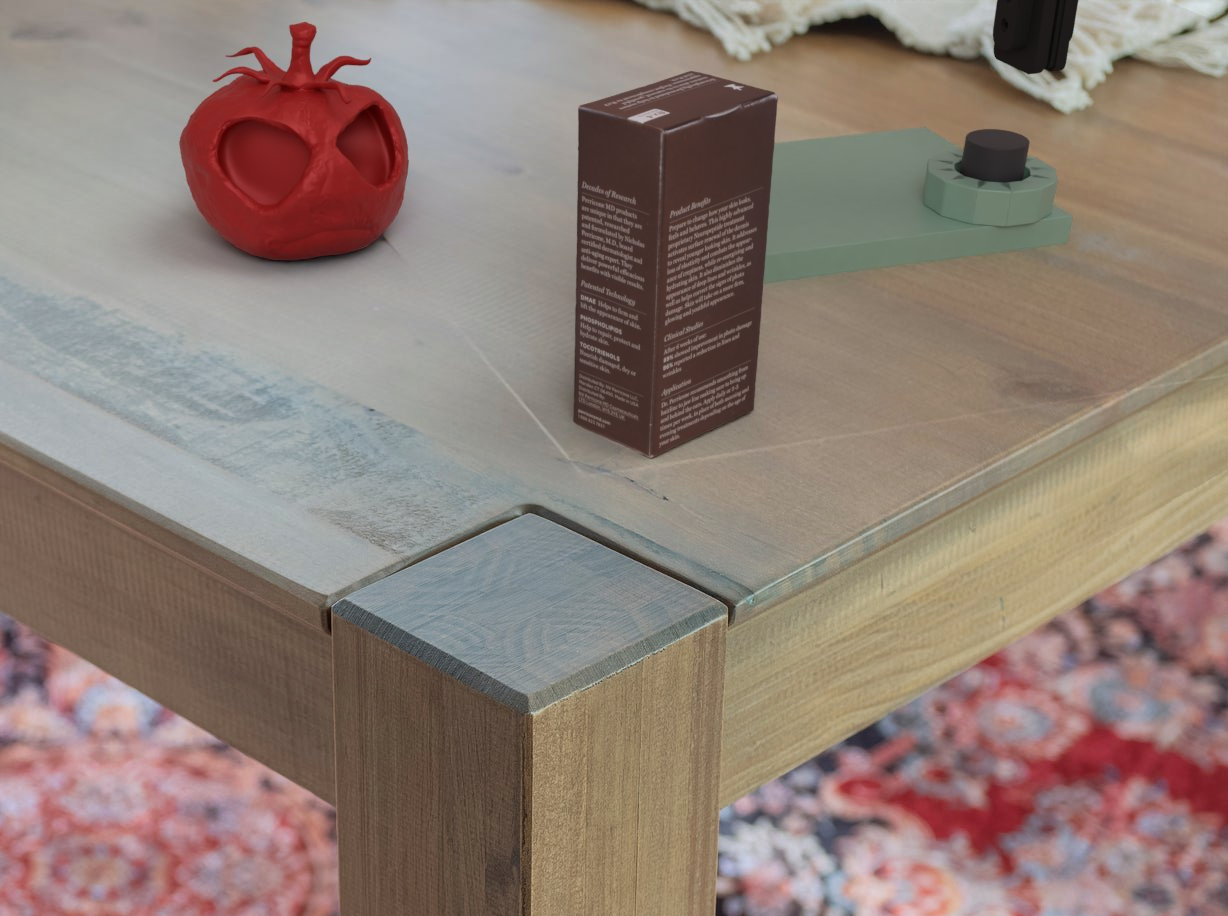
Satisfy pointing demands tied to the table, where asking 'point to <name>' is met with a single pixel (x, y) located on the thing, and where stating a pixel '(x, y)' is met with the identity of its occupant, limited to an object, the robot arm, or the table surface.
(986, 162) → the button
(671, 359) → the box
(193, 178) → the tomato with eye holes
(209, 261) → the table surface
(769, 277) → the scale
